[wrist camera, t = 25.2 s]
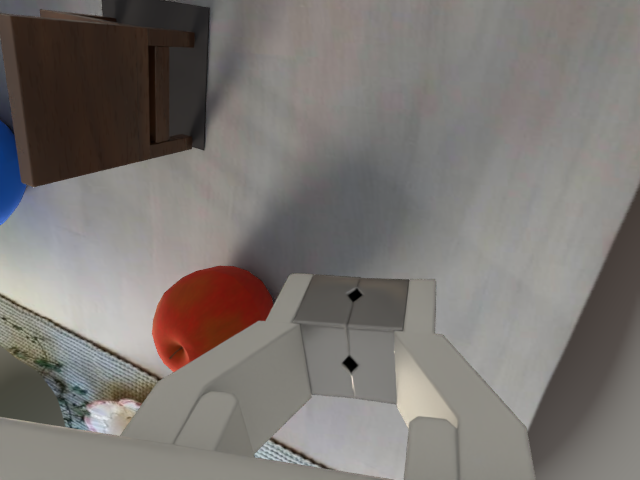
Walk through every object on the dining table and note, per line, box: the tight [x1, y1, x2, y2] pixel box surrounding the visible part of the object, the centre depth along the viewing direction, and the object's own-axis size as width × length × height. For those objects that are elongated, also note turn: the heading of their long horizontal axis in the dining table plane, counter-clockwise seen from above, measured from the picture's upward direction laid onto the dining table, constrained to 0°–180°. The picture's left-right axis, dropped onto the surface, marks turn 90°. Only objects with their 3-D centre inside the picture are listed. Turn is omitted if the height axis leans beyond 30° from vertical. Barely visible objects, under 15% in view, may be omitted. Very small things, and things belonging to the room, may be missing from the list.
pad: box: [102, 0, 209, 150], centre depth 41 cm, size 12×12×1 cm
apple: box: [152, 266, 273, 372], centre depth 41 cm, size 10×10×12 cm
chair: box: [0, 9, 195, 187], centre depth 35 cm, size 10×10×16 cm
